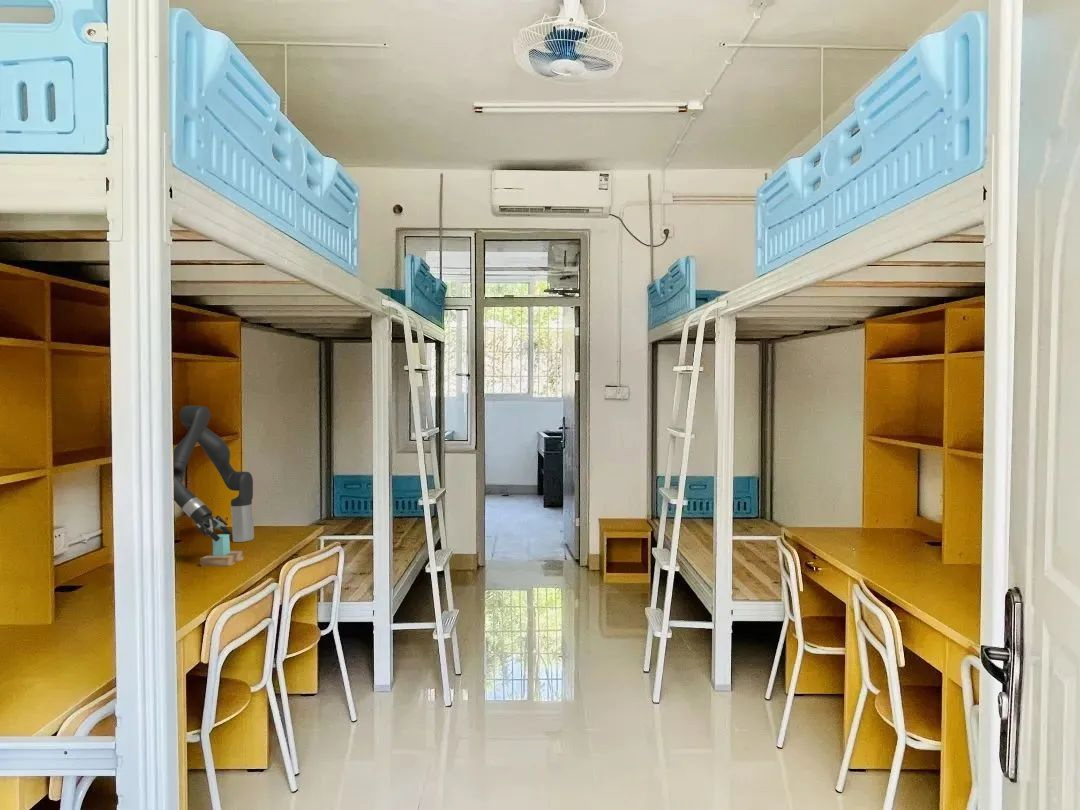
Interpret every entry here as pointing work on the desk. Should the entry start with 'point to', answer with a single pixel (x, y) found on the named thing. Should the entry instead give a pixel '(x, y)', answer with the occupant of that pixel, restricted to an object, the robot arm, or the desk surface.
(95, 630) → the desk surface
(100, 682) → the desk surface
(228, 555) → the brown notched block
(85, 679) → the desk surface
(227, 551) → the teal block
